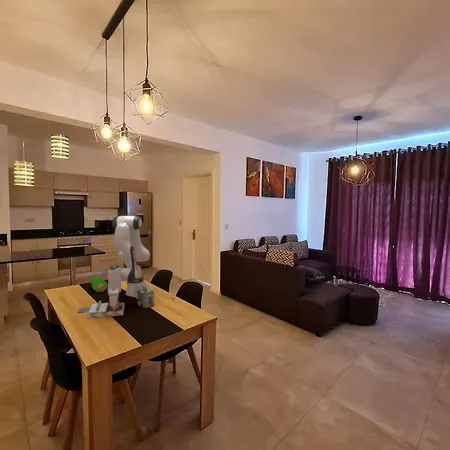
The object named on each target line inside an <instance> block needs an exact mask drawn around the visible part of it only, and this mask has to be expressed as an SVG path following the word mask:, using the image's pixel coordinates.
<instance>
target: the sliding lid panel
mask: <svg viewBox="0 0 450 450" xmlns="http://www.w3.org/2000/svg"><path fill="white" fill-rule="evenodd" d="M108 304H109V302H103V303H102V300H99V301H98V303H92V304H91V306H90V307H91V308H90V310H89V311H88V312H89V313H100V312H106V309H107V306H108Z"/></svg>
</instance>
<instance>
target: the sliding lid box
mask: <svg viewBox="0 0 450 450" xmlns="http://www.w3.org/2000/svg"><path fill="white" fill-rule="evenodd" d="M124 311H125V302H119V311H111V306H110V303H108V306H107V309H106V312H100V313H89V311H87V319H95V318H106V317H117V316H118V317H119V316H124Z"/></svg>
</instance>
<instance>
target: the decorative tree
mask: <svg viewBox="0 0 450 450" xmlns="http://www.w3.org/2000/svg"><path fill="white" fill-rule="evenodd" d="M90 284H91V288H92V289H93V290H94V291H95V292H97V293H102V292H104V291H105V290H106V289H108V283H107V281H106V280H104V278H102V277H100V276H93V277H92V278H91V279H90Z"/></svg>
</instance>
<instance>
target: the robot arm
mask: <svg viewBox="0 0 450 450" xmlns="http://www.w3.org/2000/svg"><path fill="white" fill-rule="evenodd" d="M111 224H112V227H113V228H114V230H115V231H114V236H113V246H114V248H115V249H116V250H117V251H119V252H118V258H119V259H120V260H119V261H122V262H123V264H125V267H121V265H118V264H114V265H111V266H109V268H108V271H107V281H108V283H107V294H108V297H109V304H110V306H111V307H113V310H116V304H117V301H119V296H120V293H121V292H122V282H126V292H125V295H126V296H127V297H132V298H138V292H137V291H140V290H143V287H145V288H146V289H150V290H152V291H154V289H152V288H151V286H150V284H149V283H148V282H146V281H145V278H144V276H142V267H141V266H140V265H138V264H137V262H148V261H149V259H150V257H151V253H150V251H149V249H147V248H146V247H145V246H144V245H143V243H142V241H141V234H140V229H141V228H142V226H143V225H142V224H143V222H142V218H141V217H140V216H137V215H135V216H133V215H116V216H114V217H113V218H112V221H111ZM145 288H144V289H145Z"/></svg>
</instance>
